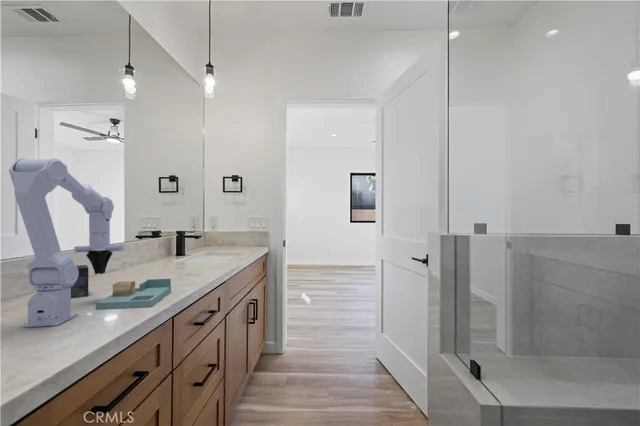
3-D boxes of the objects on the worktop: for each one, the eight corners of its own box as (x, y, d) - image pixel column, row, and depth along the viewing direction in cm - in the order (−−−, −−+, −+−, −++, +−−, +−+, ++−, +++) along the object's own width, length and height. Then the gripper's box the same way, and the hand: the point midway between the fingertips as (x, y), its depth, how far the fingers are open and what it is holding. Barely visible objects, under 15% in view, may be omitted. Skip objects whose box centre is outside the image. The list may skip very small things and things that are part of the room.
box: (88, 296, 116) (88, 266, 116) (68, 298, 113) (68, 268, 113) (87, 292, 122) (86, 264, 122) (68, 294, 119) (67, 265, 119)
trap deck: (151, 306, 102) (151, 290, 102) (95, 309, 99) (95, 293, 99) (170, 291, 121) (170, 278, 121) (124, 293, 119) (124, 280, 119)
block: (129, 296, 108) (129, 283, 108) (112, 296, 107) (112, 284, 107) (135, 292, 113) (135, 280, 113) (119, 293, 112) (119, 281, 112)
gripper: (128, 231, 114) (128, 270, 114) (82, 232, 112) (83, 272, 111) (118, 232, 107) (119, 274, 107) (70, 233, 105) (70, 276, 105)
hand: (99, 273), depth 109 cm, fingers closed
